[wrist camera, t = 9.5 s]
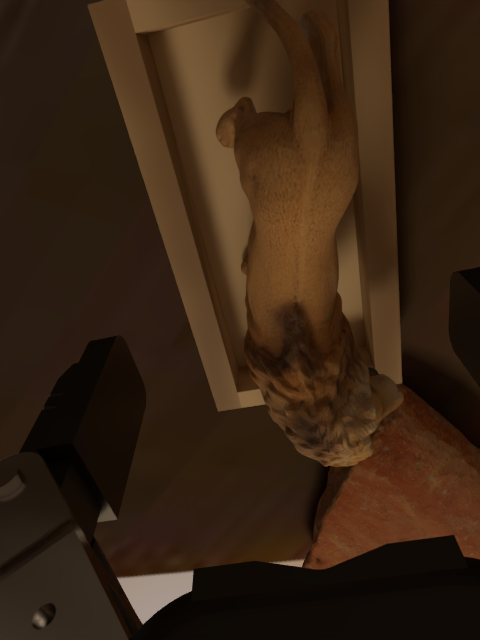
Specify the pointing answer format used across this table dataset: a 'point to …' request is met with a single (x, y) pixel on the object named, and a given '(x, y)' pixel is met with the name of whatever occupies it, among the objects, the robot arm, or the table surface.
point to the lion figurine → (304, 251)
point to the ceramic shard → (401, 489)
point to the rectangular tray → (223, 174)
